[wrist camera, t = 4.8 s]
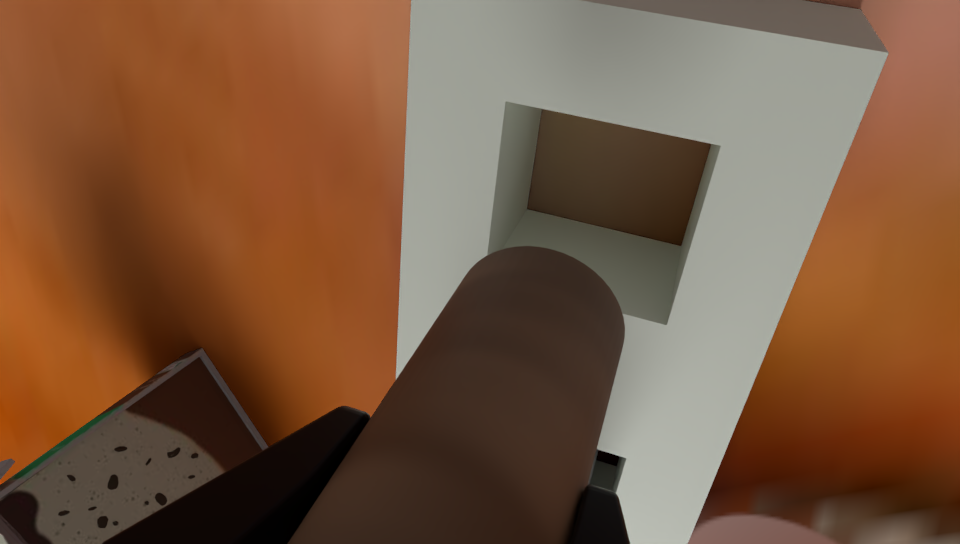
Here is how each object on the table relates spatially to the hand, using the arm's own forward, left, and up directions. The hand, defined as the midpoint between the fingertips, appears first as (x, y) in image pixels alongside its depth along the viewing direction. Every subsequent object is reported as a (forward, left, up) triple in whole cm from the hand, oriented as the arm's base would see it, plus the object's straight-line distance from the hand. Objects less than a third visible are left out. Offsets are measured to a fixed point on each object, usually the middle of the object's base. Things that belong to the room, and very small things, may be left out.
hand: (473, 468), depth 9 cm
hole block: (+5, 0, -12) cm, 13 cm away
